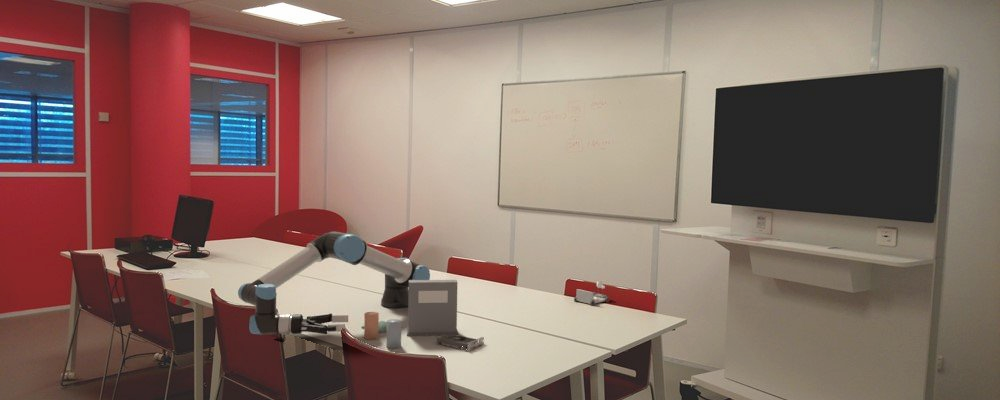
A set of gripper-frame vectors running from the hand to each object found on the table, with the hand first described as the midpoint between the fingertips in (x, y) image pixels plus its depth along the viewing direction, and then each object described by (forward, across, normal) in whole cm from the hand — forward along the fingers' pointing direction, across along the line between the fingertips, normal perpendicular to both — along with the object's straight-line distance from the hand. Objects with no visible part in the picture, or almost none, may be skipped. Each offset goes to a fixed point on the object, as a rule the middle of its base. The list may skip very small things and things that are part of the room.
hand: (346, 323), depth 244 cm
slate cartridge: (+19, +12, -6) cm, 23 cm away
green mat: (+13, -15, -6) cm, 21 cm away
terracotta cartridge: (+10, 0, -6) cm, 12 cm away
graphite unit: (+34, -5, -6) cm, 35 cm away
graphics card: (+45, +11, -7) cm, 47 cm away
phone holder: (+121, -56, -6) cm, 134 cm away
